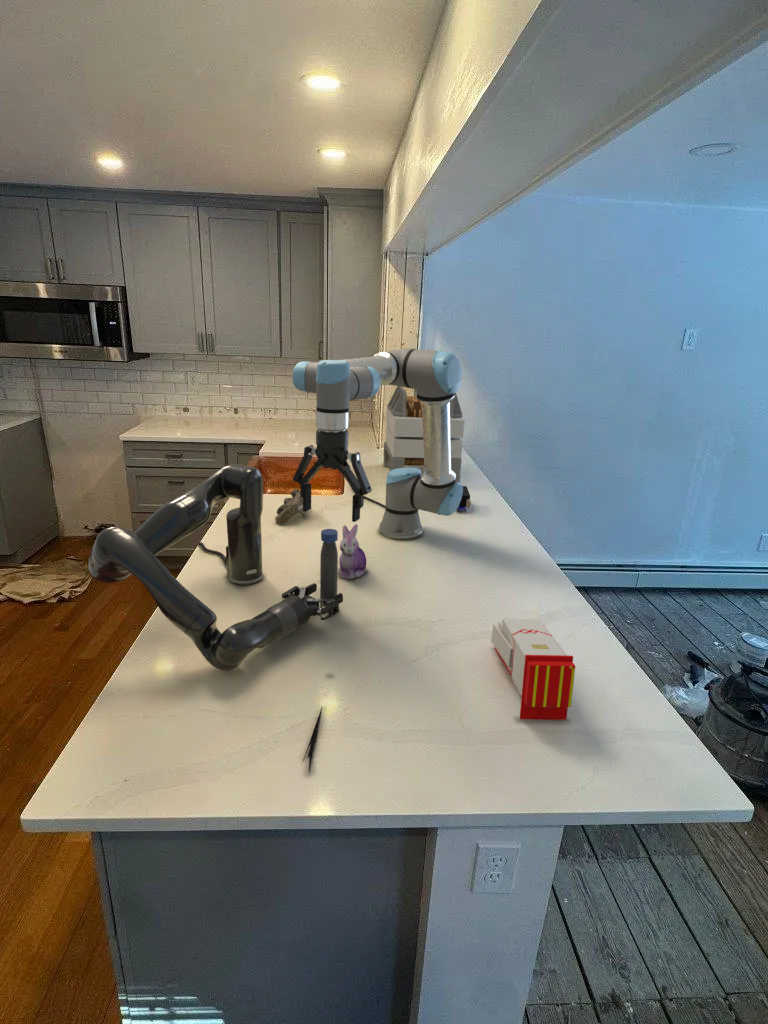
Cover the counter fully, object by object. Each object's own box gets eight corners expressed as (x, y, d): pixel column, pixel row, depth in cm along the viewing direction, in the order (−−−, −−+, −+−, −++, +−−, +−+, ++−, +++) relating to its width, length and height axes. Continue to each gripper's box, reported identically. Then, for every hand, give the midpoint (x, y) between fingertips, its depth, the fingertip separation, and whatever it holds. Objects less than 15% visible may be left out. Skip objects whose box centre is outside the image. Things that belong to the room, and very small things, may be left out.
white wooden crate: (382, 463, 289) (386, 382, 275) (445, 464, 293) (451, 384, 279) (390, 482, 257) (394, 392, 243) (460, 483, 261) (468, 394, 247)
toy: (537, 603, 136) (584, 662, 106) (532, 655, 138) (577, 726, 109) (487, 602, 135) (520, 661, 106) (483, 654, 138) (514, 725, 109)
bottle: (339, 613, 147) (340, 535, 139) (323, 616, 145) (324, 537, 137) (333, 605, 150) (334, 529, 143) (317, 608, 148) (318, 531, 141)
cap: (340, 541, 140) (340, 533, 139) (324, 543, 138) (324, 535, 137) (333, 535, 143) (334, 527, 143) (318, 537, 141) (318, 529, 141)
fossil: (280, 494, 222) (309, 474, 217) (296, 512, 224) (325, 493, 219) (264, 519, 202) (296, 497, 197) (282, 539, 205) (313, 518, 200)
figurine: (344, 582, 162) (345, 534, 157) (330, 568, 171) (331, 521, 166) (373, 577, 167) (375, 529, 162) (359, 563, 175) (360, 517, 170)
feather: (331, 679, 122) (336, 673, 122) (307, 777, 96) (313, 769, 95) (324, 675, 122) (329, 669, 121) (298, 772, 95) (304, 764, 95)
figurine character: (470, 516, 223) (465, 500, 237) (473, 499, 220) (467, 484, 233) (453, 516, 223) (449, 500, 236) (455, 498, 220) (451, 483, 233)
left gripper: (263, 621, 137) (307, 596, 150) (308, 641, 130) (350, 613, 143) (262, 593, 135) (307, 570, 148) (308, 612, 128) (351, 586, 140)
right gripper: (388, 433, 130) (383, 519, 137) (295, 420, 139) (295, 502, 146) (374, 438, 124) (370, 529, 131) (277, 425, 133) (279, 510, 140)
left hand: (328, 591), depth 145 cm, fingers open, 8 cm apart
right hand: (331, 515), depth 139 cm, fingers open, 13 cm apart
